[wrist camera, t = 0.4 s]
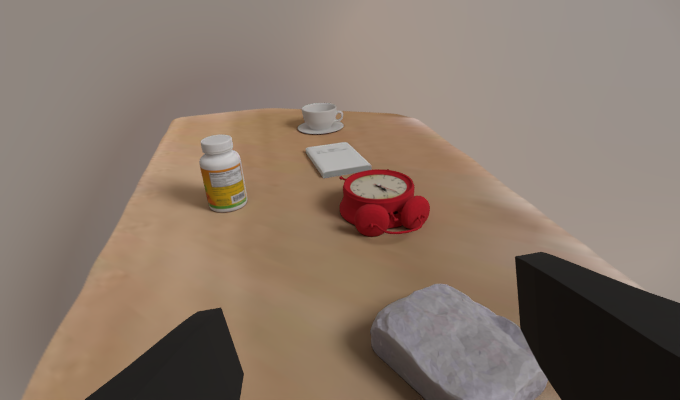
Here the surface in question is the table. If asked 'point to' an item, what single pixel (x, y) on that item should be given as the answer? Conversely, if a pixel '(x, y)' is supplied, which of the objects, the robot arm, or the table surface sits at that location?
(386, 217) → the alarm clock
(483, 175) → the table surface
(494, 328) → the stone block
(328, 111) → the teacup
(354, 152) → the external hard drive
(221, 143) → the supplement bottle
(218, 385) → the robot arm
